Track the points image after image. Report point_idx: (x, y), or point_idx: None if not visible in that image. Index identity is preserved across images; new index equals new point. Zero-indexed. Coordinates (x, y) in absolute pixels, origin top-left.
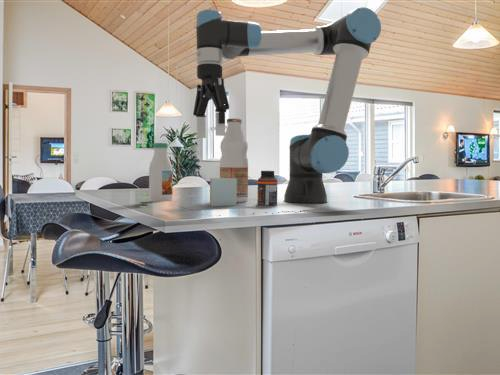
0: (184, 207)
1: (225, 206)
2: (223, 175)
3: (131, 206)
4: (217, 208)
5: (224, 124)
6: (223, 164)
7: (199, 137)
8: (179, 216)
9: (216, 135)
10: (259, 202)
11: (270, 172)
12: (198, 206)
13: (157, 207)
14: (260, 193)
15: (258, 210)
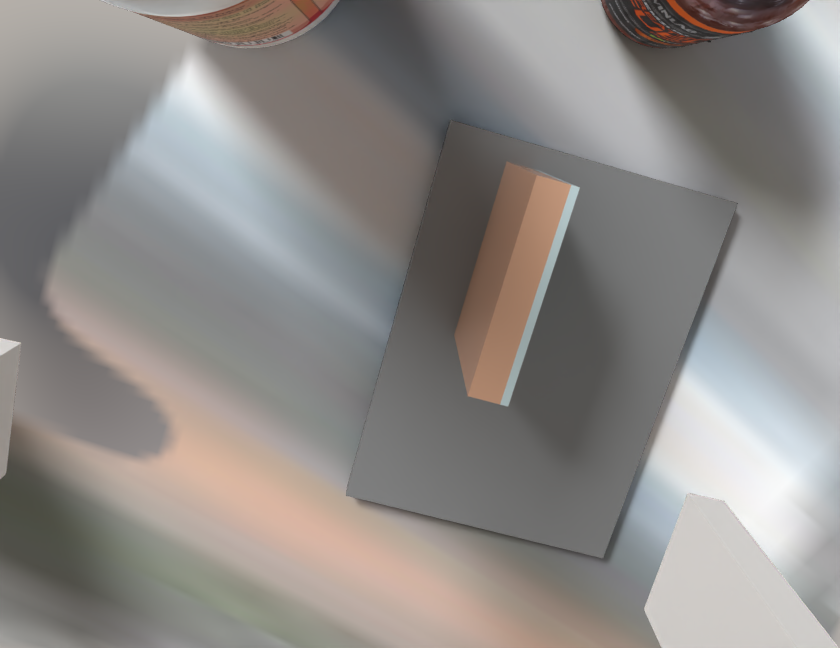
0: (453, 516)
1: (568, 299)
2: (202, 25)
3: (35, 595)
4: (624, 411)
5: (797, 612)
6: (167, 10)
7: (8, 452)
8: (626, 644)
9: (657, 606)
10: (663, 46)
11: None
12: (459, 425)
13: (177, 513)
14: (696, 40)
15: (723, 144)
